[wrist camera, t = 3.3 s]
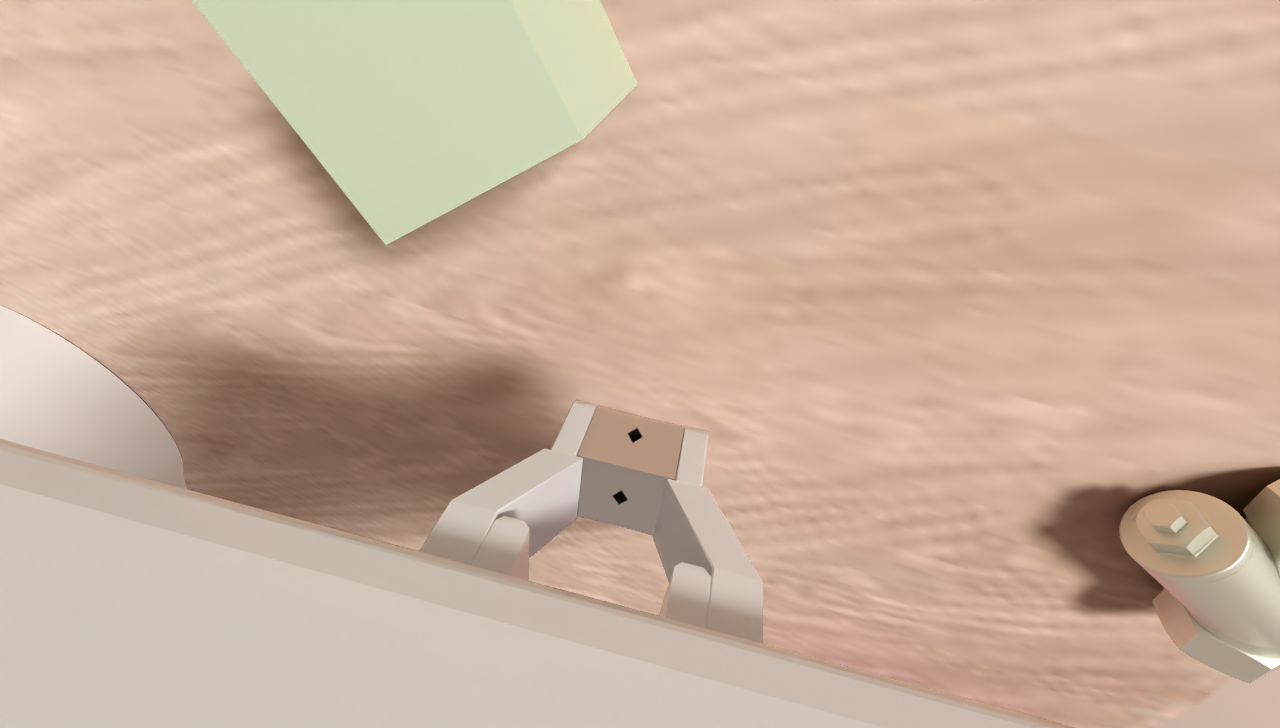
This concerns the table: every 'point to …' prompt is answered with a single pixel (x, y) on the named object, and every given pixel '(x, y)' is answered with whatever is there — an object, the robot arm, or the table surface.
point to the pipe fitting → (1213, 575)
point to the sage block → (428, 90)
